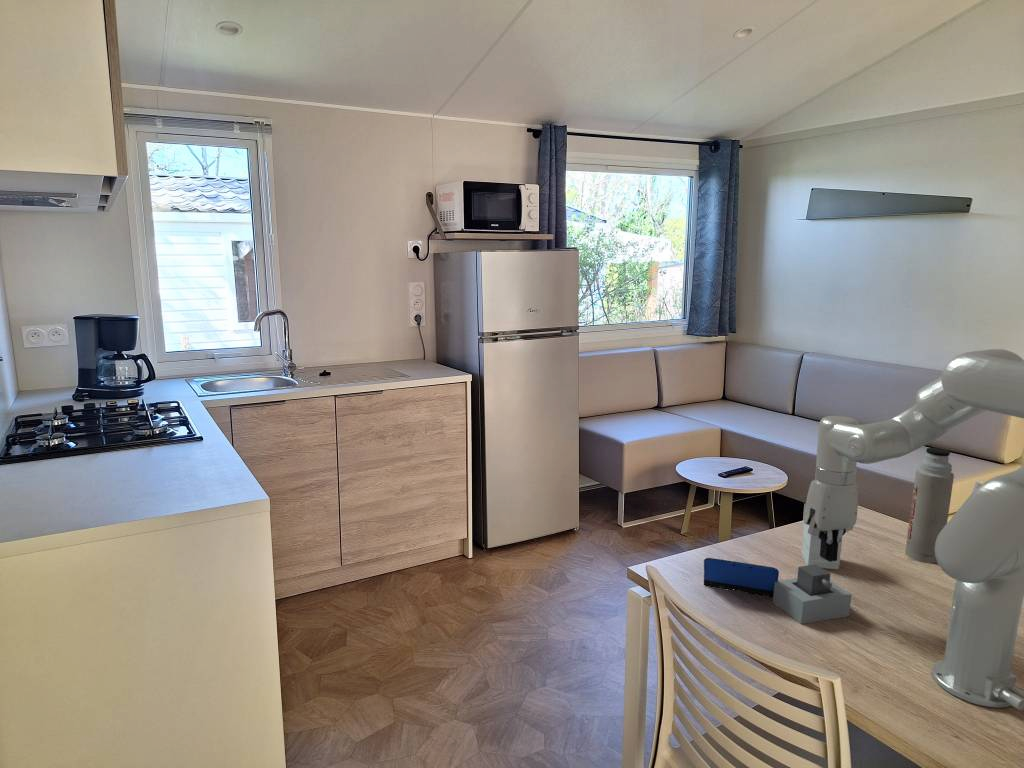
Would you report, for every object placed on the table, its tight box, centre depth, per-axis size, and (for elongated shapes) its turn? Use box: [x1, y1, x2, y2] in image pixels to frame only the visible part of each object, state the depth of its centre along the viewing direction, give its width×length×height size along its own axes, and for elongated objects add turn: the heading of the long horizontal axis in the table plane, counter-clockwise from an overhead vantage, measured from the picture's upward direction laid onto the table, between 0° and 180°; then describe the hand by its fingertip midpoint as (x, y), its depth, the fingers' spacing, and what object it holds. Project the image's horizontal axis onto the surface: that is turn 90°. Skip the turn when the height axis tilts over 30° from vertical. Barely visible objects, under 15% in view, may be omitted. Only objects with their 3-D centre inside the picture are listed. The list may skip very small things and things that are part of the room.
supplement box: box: [800, 523, 843, 570], centre depth 165 cm, size 7×7×13 cm
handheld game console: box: [703, 557, 780, 599], centre depth 153 cm, size 16×13×9 cm
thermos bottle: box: [904, 447, 955, 564], centre depth 168 cm, size 8×8×28 cm
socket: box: [772, 577, 853, 625], centre depth 144 cm, size 9×12×5 cm
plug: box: [796, 564, 832, 596], centre depth 142 cm, size 4×7×8 cm, turn 16°
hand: (828, 558), depth 143 cm, fingers closed
